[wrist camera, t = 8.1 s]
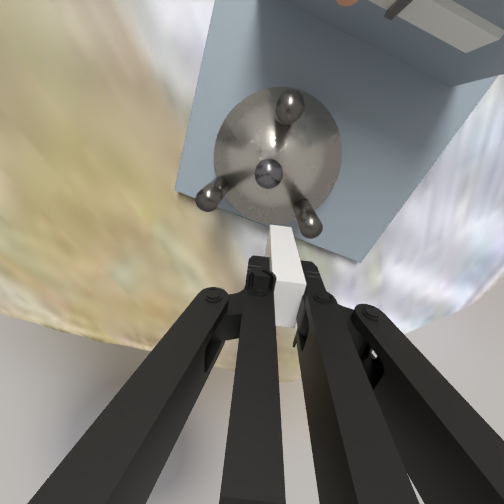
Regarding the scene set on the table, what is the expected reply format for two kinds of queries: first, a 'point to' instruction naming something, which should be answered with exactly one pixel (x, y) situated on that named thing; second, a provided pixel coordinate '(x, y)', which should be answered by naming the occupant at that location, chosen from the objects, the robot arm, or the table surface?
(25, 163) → the table surface
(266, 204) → the capstan
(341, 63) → the stand
